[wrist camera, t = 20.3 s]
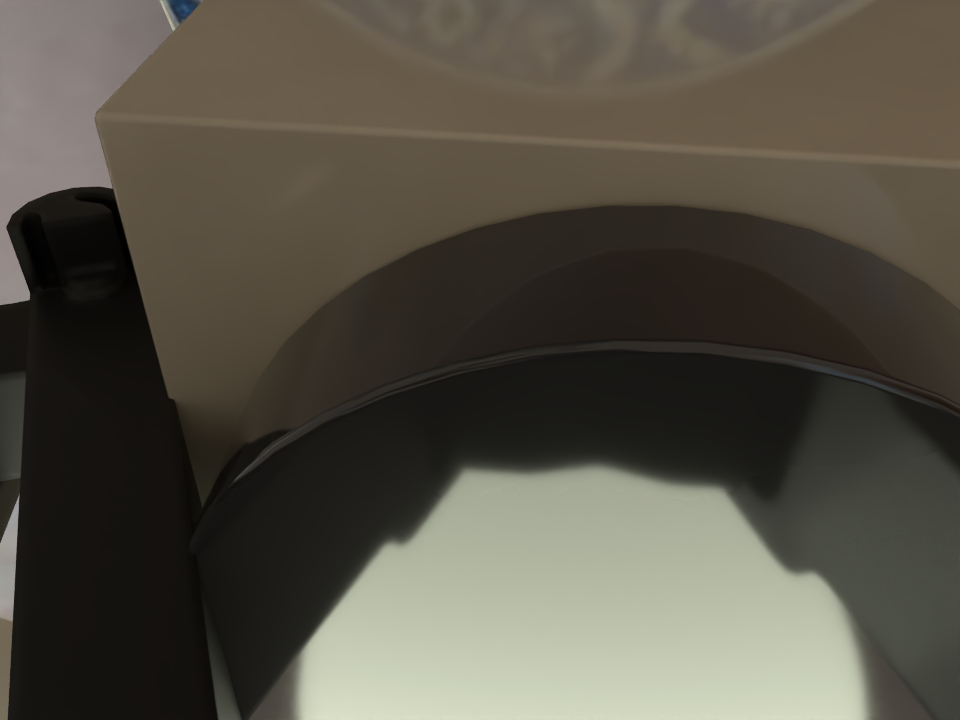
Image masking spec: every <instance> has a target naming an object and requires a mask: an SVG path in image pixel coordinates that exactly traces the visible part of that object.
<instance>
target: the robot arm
mask: <svg viewBox="0 0 960 720" xmlns="http://www.w3.org/2000/svg"><path fill="white" fill-rule="evenodd" d="M6 228H7V231H8V233H9V236H10V239H11V242H12V244H13V247H14V250H15V253H16V255H17V258H18V261H19V264H20V266H21V269H22V272H23V275H24V277H25V280H26V283H27V286H28V288H29V291H30V300H28V301H23V302H18V303H13V304H6V305H0V542H1V540H2V537H3V534H4V532H5V529H6V527H7V524H8V522H9V519H10V517H11V514H12V511H13V509H14V506H15V504H16V501H17V499H18V496H19V493H20V497H19V516H18V535H17V554H16V573H15V592H14V611H13V630H12V649H11V668H10V688H9V707H8V720H242V717H241V714H240V710H239V707H238V703H237V700H236V696H235V693H234V689H233V686H232V682H231V679H230V675H229V672H228V668H227V665H226V661H225V658H224V654H223V651H222V647H221V644H220V640H219V637H218V633H217V630H216V626H215V623H214V619H213V616H212V612H211V608H210V605H209V601H208V598H207V594H206V591H205V587H204V584H203V580H202V577H201V573H200V570H199V566H198V563H197V559H196V556H195V555H194V554H191V553H189V552H188V548H187V546H188V543H189V541H190V538H191V536H192V533H193V530H194V528H195V525H196V523H197V521H198V518H199V516H200V513H201V511H202V508H203V507H202V504H201V500H200V496H199V492H198V488H197V484H196V481H195V477H194V473H193V469H192V465H191V462H190V458H189V454H188V450H187V446H186V442H185V439H184V435H183V431H182V427H181V423H180V420H179V416H178V412H177V408H176V404H175V401H174V399H171V398H168V394H167V390H166V386H165V383H164V379H163V375H162V371H161V367H160V364H159V360H158V356H157V352H156V349H155V345H154V341H153V337H152V334H151V330H150V326H149V322H148V318H147V315H146V311H145V307H144V303H143V300H142V296H141V292H140V288H139V285H138V281H137V277H136V273H135V269H134V266H133V262H132V258H131V254H130V251H129V247H128V243H127V239H126V236H125V232H124V228H123V224H122V220H121V217H120V213H119V209H118V205H117V202H116V198H115V194H114V190H113V189H111V188H105V187H80V188H71V189H67V190H62V191H58V192H53V193H49V194H47V195H44V196H42V197H40V198H37V199H35V200H33V201H30V202H28V203H27V204H25V205H24V206H23V207H22V208H20V209H19V210H18V211H16V212H15V213H14V214H13V215H12V217H11V219H10V221H9V223H8V225H7V227H6Z"/></svg>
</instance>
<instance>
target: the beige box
mask: <svg viewBox="0 0 960 720" xmlns="http://www.w3.org/2000/svg"><path fill="white" fill-rule="evenodd" d="M95 122H96V126H97V130H98V134H99V138H100V141H101V145H102V149H103V153H104V156H105V160H106V164H107V168H108V171H109V175H110V179H111V183H112V187H113V190H114V194H115V198H116V202H117V205H118V209H119V213H120V217H121V220H122V224H123V228H124V232H125V236H126V239H127V243H128V247H129V251H130V254H131V258H132V262H133V266H134V269H135V273H136V277H137V281H138V285H139V288H140V292H141V296H142V300H143V303H144V307H145V311H146V315H147V318H148V322H149V326H150V330H151V334H152V337H153V341H154V345H155V349H156V352H157V356H158V360H159V364H160V367H161V371H162V375H163V379H164V383H165V386H166V390H167V394H168V398H171V399H174V401H175V404H176V408H177V412H178V416H179V420H180V423H181V427H182V431H183V435H184V439H185V442H186V446H187V450H188V454H189V458H190V462H191V465H192V469H193V473H194V477H195V481H196V484H197V488H198V492H199V496H200V500H201V504H202V507H203V508H202V511H201V513H200V516H199V518H198V521H197V523H196V525H195V528H194V530H193V533H192V536H191V538H190V541H189V543H188V546H187V548H188V552H189V553H191V554H194V555H195V556H196V559H197V563H198V566H199V570H200V573H201V577H202V580H203V584H204V587H205V591H206V594H207V598H208V601H209V605H210V608H211V612H212V616H213V619H214V623H215V626H216V630H217V633H218V637H219V640H220V644H221V647H222V651H223V654H224V658H225V661H226V665H227V668H228V672H229V675H230V679H231V682H232V686H233V689H234V693H235V696H236V700H237V703H238V707H239V710H240V714H241V717H242V720H960V0H203V1H202V2H201V3H200V4H199V5H198V6H197V7H196V8H195V10H194V11H193V12H192V13H191V14H190V15H189V16H188V17H187V18H186V19H185V20H184V21H183V22H182V23H181V24H180V25H179V26H178V27H177V28H176V29H175V30H174V31H173V32H172V34H171V35H170V36H169V37H168V38H167V39H166V40H165V41H164V42H163V43H162V44H161V45H160V46H159V47H158V48H157V49H156V50H155V51H154V52H153V53H152V54H151V55H150V56H149V58H148V59H147V60H146V61H145V62H144V63H143V64H142V65H141V66H140V67H139V68H138V69H137V70H136V71H135V72H134V73H133V74H132V75H131V76H130V77H129V78H128V79H127V80H126V82H125V83H124V84H123V85H122V86H121V87H120V88H119V89H118V90H117V91H116V92H115V93H114V94H113V95H112V96H111V97H110V98H109V99H108V100H107V101H106V102H105V103H104V104H103V106H102V107H101V108H100V109H99V110H98V111H97V112H96V114H95Z"/></svg>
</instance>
